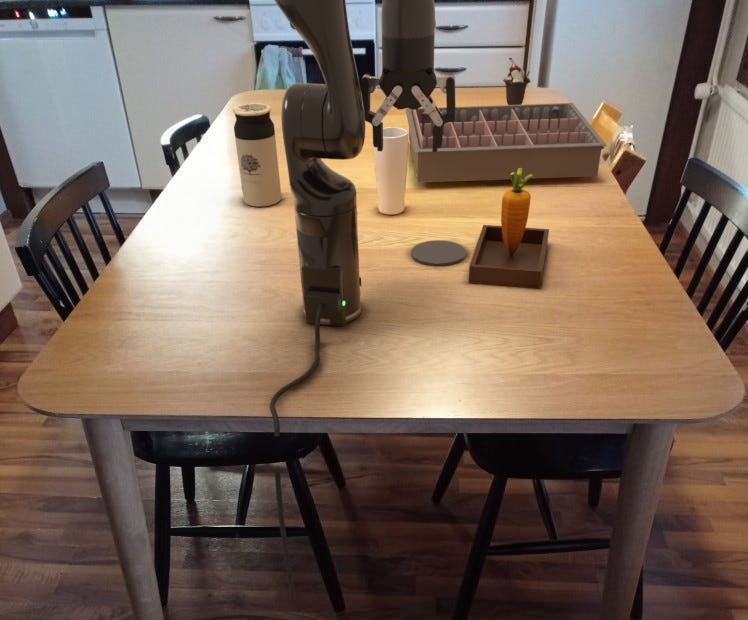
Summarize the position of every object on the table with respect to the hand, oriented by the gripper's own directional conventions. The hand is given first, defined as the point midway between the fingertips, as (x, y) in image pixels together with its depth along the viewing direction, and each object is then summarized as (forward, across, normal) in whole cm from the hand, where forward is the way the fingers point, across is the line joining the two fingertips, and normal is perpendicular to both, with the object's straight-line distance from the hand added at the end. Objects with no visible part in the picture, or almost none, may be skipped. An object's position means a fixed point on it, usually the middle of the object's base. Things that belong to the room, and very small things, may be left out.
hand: (407, 150), depth 120 cm
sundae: (+22, +20, +92) cm, 96 cm away
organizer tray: (+22, +15, +61) cm, 66 cm away
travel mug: (+21, -34, +35) cm, 53 cm away
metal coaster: (+21, +5, +10) cm, 24 cm away
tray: (+21, +18, +7) cm, 28 cm away
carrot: (+21, +18, +10) cm, 29 cm away
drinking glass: (+21, -6, +30) cm, 38 cm away
